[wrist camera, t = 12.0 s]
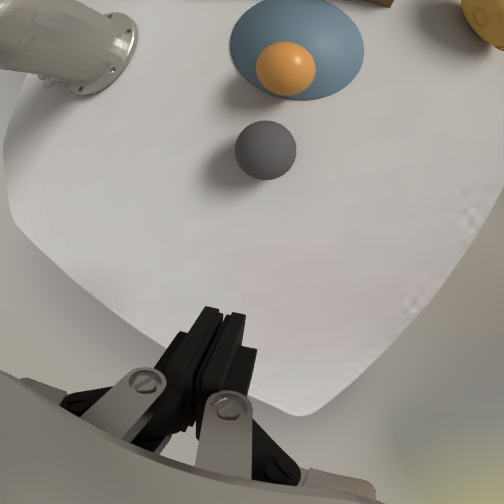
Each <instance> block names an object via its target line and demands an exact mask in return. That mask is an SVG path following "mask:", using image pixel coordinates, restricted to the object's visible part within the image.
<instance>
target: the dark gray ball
mask: <svg viewBox="0 0 504 504" xmlns="http://www.w3.org/2000/svg"><path fill="white" fill-rule="evenodd" d="M235 155H236V159H237V161H238V164H239V165H240V167H241V168H242V169H243V170H244V171H245V172H246V173H247V174H248V175H250V176H252V177H254V178H257V179H261V180H271V179H275V178H278V177H280V176H282V175H284V174H285V173H286V172H287V171H288V170H289V169H290V168H291V166H292V165H293V163H294V161H295V157H296V144H295V141H294V138H293V136H292V135H291V133H290V132H289V131H288V130H287V129H286V128H285V127H284V126H282V125H281V124H278V123H276V122H273V121H259V122H255V123H253V124H250V125H249V126H247V127H246V128H245V129H244V130H243V131H242V132H241V133H240V135H239V137H238V139H237V141H236V145H235Z"/></svg>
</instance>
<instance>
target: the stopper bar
mask: <svg viewBox="0 0 504 504" xmlns="http://www.w3.org/2000/svg"><path fill="white" fill-rule="evenodd" d="M365 1H369V2H373V3H376V4H380V5H383V6H386V7H389V8H390V7H391V5H392V3H393V1H394V0H365Z"/></svg>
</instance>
